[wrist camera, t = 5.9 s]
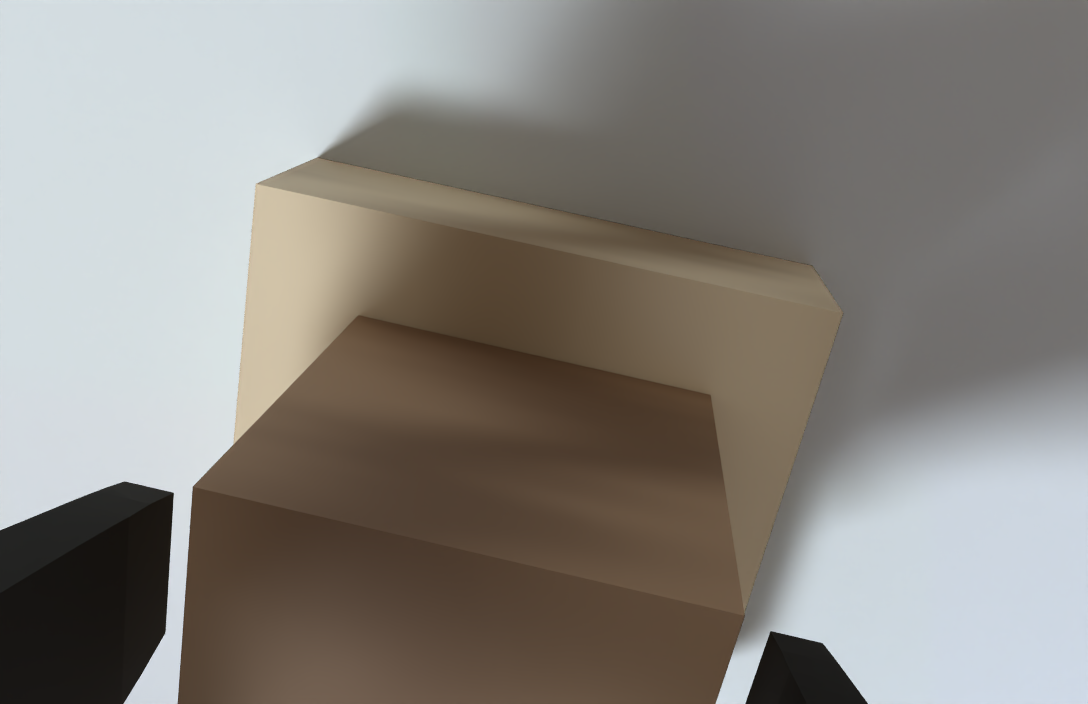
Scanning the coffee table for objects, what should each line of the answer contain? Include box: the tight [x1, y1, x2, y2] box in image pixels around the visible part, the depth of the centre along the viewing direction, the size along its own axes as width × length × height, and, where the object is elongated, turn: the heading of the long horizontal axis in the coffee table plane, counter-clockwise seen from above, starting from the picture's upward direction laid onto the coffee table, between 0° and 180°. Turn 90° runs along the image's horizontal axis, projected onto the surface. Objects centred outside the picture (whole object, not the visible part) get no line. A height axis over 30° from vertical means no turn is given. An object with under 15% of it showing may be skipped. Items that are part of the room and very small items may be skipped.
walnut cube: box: [178, 315, 745, 704], centre depth 11 cm, size 5×5×5 cm
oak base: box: [233, 158, 843, 612], centre depth 15 cm, size 8×8×3 cm
